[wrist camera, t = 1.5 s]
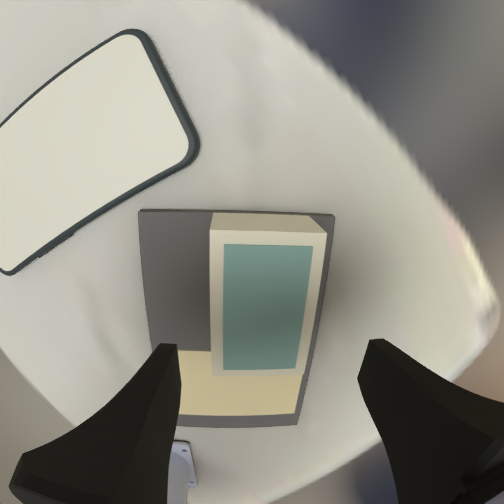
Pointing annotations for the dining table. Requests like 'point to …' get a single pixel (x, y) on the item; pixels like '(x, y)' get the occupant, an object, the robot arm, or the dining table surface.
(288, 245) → the card box
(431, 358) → the dining table surface
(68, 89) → the phone case
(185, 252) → the mat
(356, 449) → the dining table surface
